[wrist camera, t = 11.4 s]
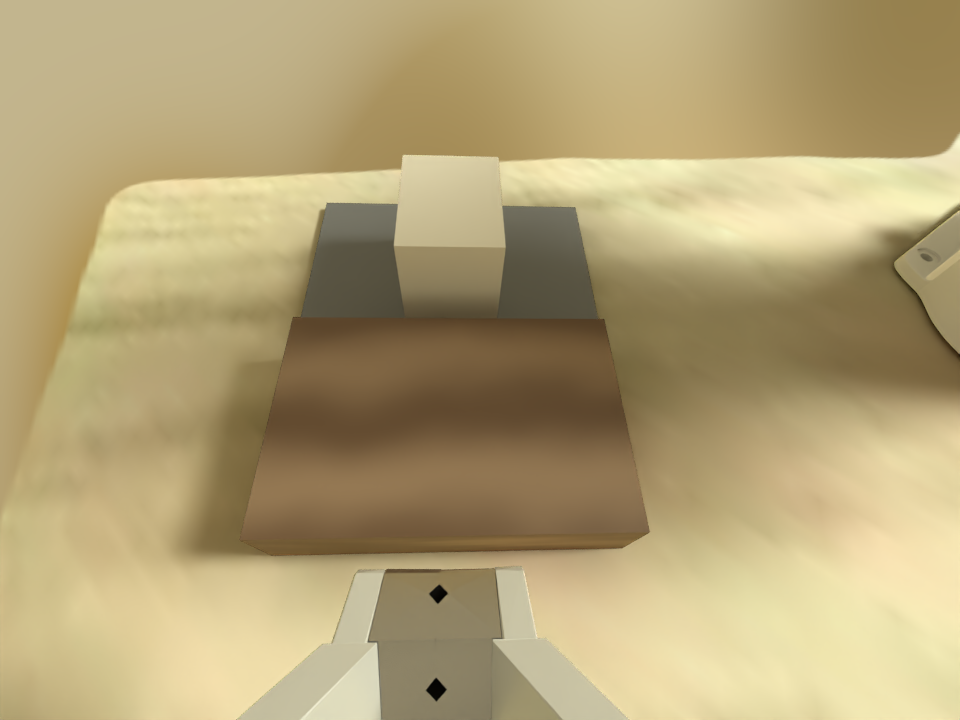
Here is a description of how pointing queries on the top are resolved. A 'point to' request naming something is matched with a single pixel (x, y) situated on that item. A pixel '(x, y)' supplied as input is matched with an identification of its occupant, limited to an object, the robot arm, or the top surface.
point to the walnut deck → (445, 440)
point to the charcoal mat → (375, 282)
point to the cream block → (450, 236)
